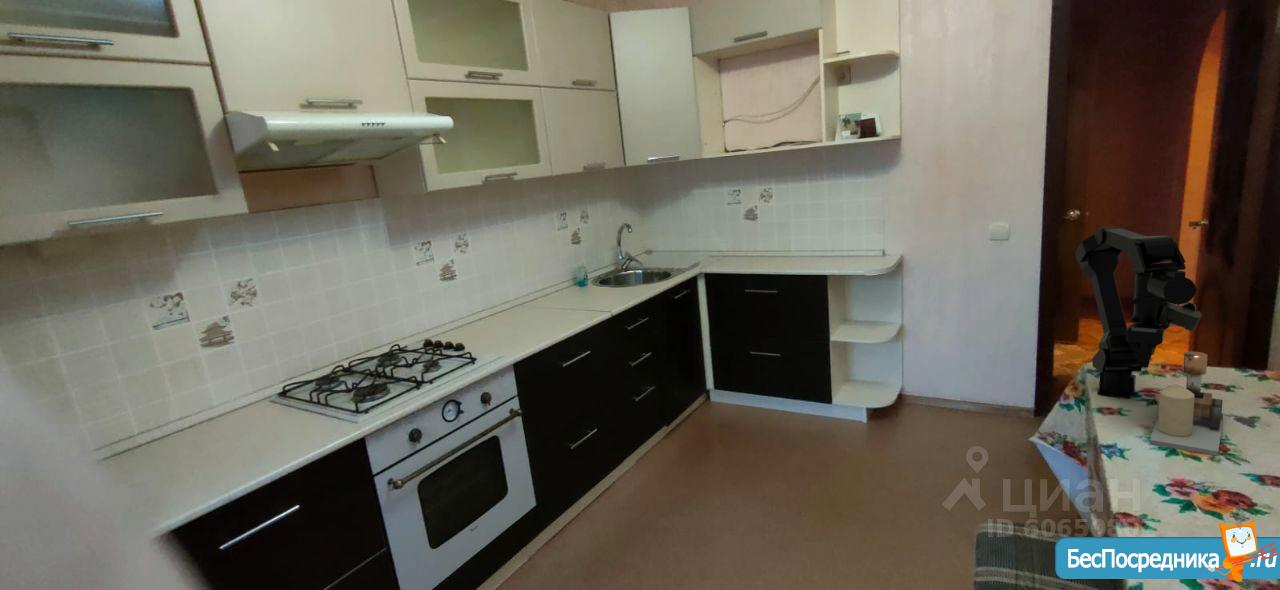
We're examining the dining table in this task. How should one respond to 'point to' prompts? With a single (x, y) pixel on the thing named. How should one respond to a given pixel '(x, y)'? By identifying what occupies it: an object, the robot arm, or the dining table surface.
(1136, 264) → the robot arm
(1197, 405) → the trolley
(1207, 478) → the dining table surface
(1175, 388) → the candle
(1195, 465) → the dining table surface
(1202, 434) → the ramp board
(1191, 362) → the stop pin
